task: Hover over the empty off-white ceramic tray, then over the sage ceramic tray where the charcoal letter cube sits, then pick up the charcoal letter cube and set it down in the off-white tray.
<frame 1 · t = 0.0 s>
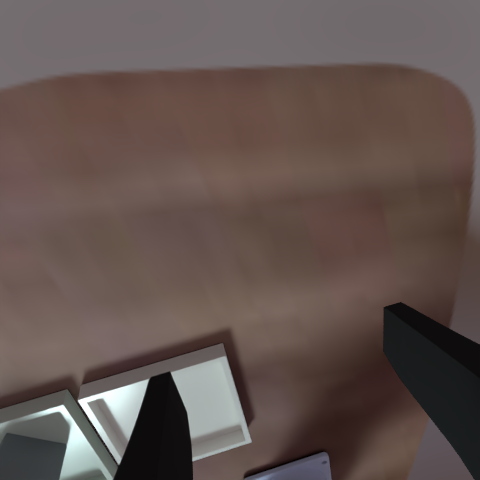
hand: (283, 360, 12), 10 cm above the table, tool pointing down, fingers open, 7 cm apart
tray 2: (27, 453, 25), on the table
tray 1: (173, 408, 26), on the table
letter cube: (26, 456, 25), resting on tray 2
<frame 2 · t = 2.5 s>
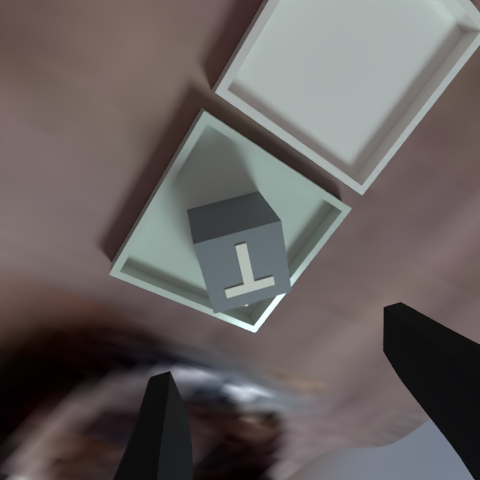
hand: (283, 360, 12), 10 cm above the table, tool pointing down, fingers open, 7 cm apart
tray 2: (230, 231, 20), on the table
tray 1: (346, 59, 17), on the table
letter cube: (230, 232, 20), resting on tray 2
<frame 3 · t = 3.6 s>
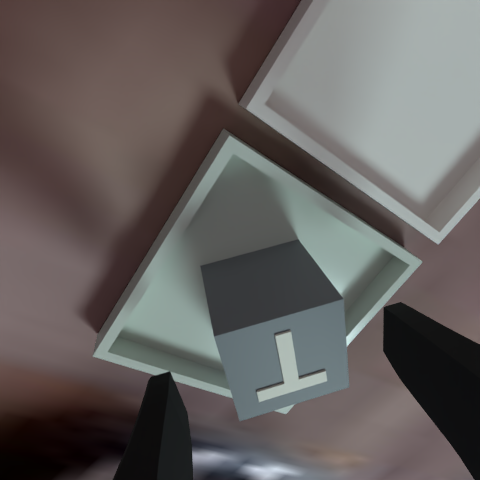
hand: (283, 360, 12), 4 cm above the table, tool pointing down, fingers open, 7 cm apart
tray 2: (257, 289, 15), on the table
tray 1: (430, 58, 12), on the table
letter cube: (258, 292, 15), resting on tray 2
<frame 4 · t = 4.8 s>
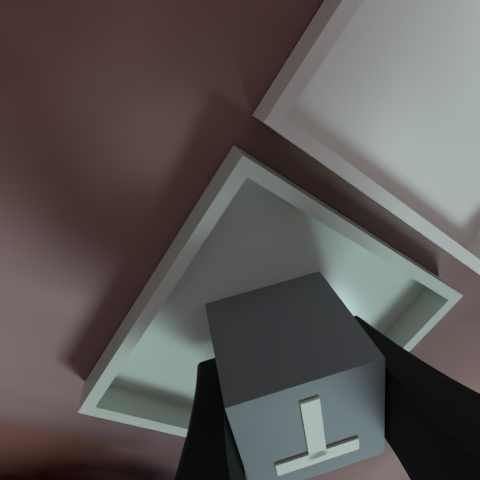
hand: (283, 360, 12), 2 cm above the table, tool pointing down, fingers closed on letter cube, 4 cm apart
tray 2: (270, 327, 13), on the table
letter cube: (271, 331, 13), resting on tray 2, touching gripper
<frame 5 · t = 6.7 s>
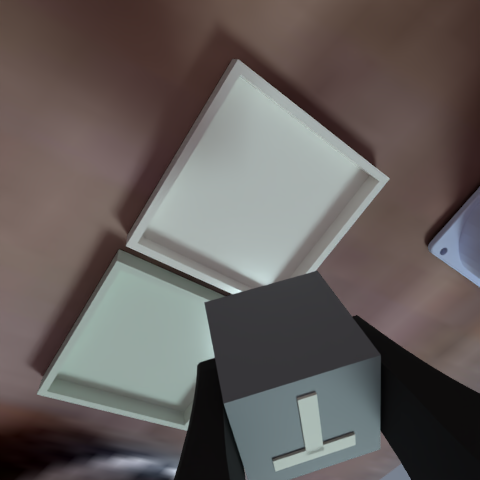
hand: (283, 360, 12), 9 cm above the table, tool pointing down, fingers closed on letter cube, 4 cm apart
tray 2: (157, 344, 21), on the table
tray 1: (256, 202, 19), on the table
letter cube: (270, 329, 13), point 7 cm above the table, touching gripper
when the fingers open (3 cm above the table, at t = 8.9 s): letter cube stays where it is, resting on tray 1.
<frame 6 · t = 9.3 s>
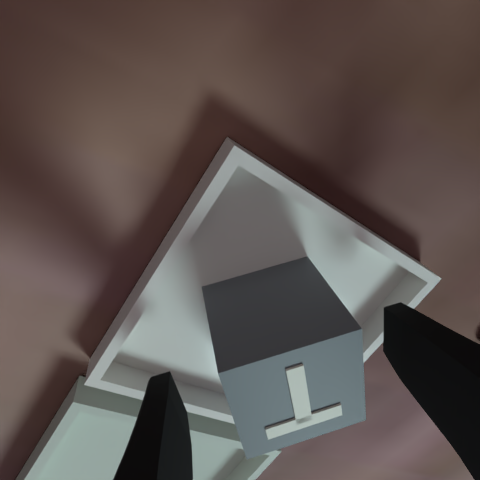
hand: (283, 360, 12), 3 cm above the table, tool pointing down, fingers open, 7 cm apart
tray 2: (137, 472, 17), on the table
tray 1: (262, 309, 14), on the table
letter cube: (264, 313, 14), resting on tray 1
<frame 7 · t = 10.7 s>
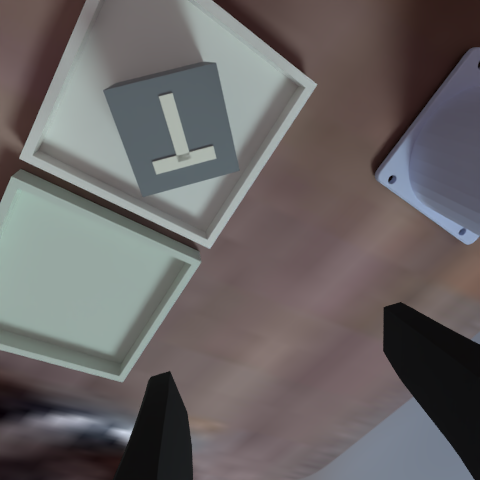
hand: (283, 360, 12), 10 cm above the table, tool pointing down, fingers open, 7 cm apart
tray 2: (81, 284, 20), on the table
tray 1: (172, 116, 17), on the table
letter cube: (173, 118, 17), resting on tray 1
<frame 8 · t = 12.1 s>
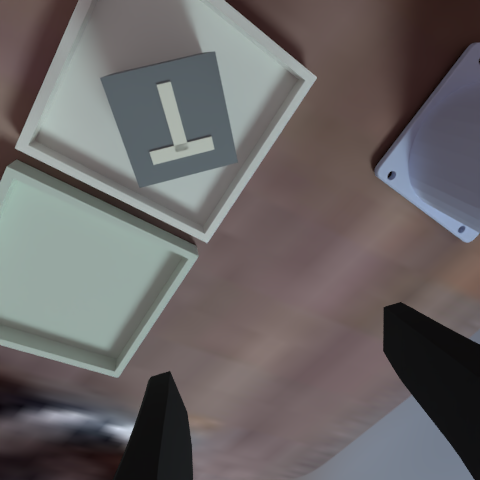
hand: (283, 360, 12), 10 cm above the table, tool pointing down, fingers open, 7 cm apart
tray 2: (76, 278, 20), on the table
tray 1: (170, 108, 17), on the table
letter cube: (171, 109, 17), resting on tray 1
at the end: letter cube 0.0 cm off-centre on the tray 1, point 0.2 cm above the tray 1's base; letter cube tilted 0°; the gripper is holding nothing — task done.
